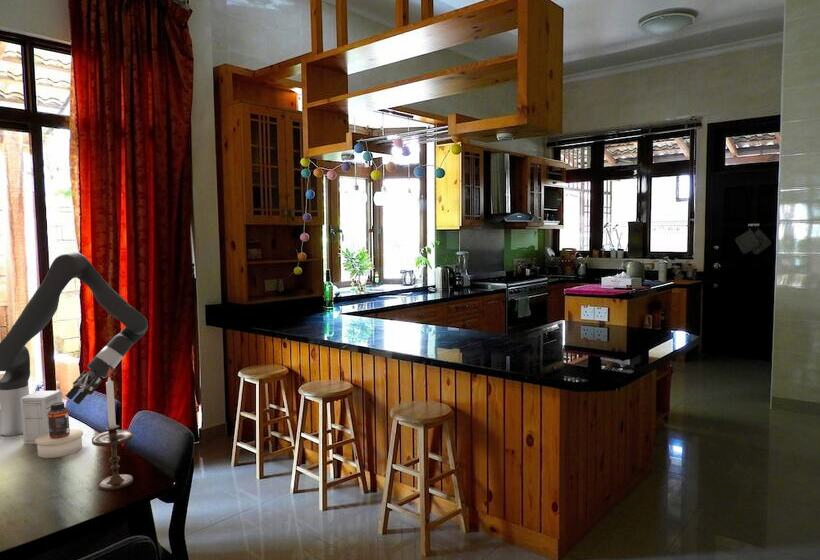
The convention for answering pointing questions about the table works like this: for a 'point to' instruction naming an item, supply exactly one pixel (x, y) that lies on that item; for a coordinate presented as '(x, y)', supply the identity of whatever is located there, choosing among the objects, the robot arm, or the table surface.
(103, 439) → the candlestick
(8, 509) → the table surface
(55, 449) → the podium
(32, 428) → the supplement box
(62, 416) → the supplement bottle
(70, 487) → the table surface
